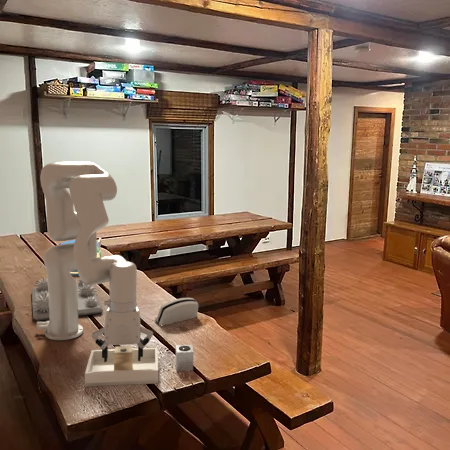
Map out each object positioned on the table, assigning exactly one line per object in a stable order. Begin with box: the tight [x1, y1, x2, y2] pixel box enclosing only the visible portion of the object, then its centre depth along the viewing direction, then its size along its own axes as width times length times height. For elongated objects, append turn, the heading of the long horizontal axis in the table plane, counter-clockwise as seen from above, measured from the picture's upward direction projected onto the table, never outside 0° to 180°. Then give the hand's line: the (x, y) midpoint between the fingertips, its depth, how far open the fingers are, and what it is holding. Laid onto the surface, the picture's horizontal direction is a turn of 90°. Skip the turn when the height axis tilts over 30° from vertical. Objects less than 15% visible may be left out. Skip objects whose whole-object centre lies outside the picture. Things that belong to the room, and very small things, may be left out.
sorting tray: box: [84, 347, 159, 388], centre depth 134 cm, size 20×14×4 cm
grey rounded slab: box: [154, 297, 199, 326], centre depth 173 cm, size 17×5×10 cm, turn 128°
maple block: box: [114, 345, 134, 371], centre depth 133 cm, size 5×5×6 cm
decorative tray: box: [31, 276, 104, 322], centre depth 186 cm, size 35×26×10 cm
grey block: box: [175, 344, 194, 372], centre depth 138 cm, size 5×5×6 cm
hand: (122, 359), depth 133 cm, fingers open, 9 cm apart
